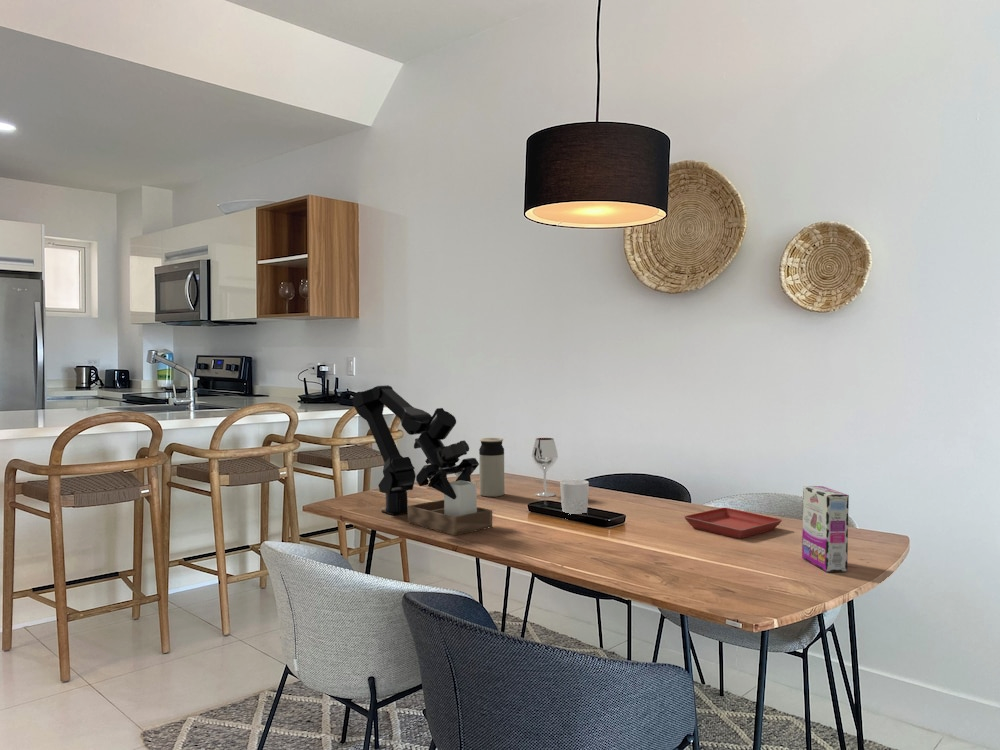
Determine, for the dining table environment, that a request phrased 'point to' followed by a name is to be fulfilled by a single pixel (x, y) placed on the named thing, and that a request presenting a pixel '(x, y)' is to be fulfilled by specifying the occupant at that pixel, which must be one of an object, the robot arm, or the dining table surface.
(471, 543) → the dining table surface
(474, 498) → the box
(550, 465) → the wineglass
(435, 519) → the crate
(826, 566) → the candy bar box
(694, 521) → the plant saucer
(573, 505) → the white cup
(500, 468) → the travel mug
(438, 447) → the robot arm
